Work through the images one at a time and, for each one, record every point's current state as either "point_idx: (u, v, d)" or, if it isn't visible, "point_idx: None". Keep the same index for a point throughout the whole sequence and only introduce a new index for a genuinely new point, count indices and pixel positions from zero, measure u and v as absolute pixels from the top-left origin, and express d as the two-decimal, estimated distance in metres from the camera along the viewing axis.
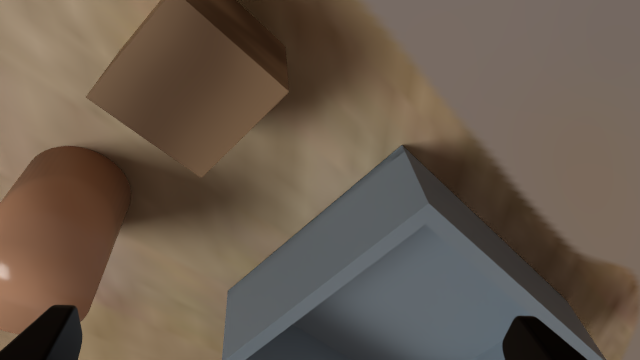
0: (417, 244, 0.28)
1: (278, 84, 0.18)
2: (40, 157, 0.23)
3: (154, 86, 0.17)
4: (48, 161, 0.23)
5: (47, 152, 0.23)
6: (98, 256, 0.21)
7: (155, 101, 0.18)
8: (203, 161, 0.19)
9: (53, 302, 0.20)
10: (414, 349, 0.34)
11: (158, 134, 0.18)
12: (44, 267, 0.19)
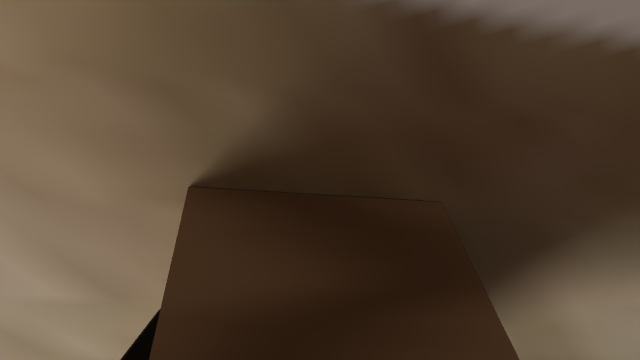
0: None
1: None
2: None
3: None
4: None
5: None
6: None
7: None
8: None
9: None
10: None
11: None
12: None
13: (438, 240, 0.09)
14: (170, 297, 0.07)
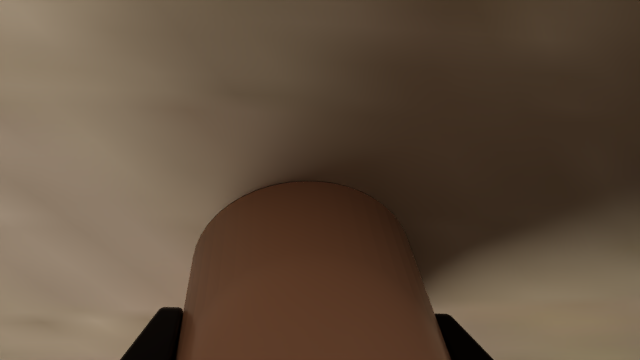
0: None
1: None
2: (197, 255, 0.10)
3: None
4: (211, 257, 0.09)
5: (204, 238, 0.10)
6: None
7: None
8: None
9: None
10: None
11: None
12: None
13: None
14: None
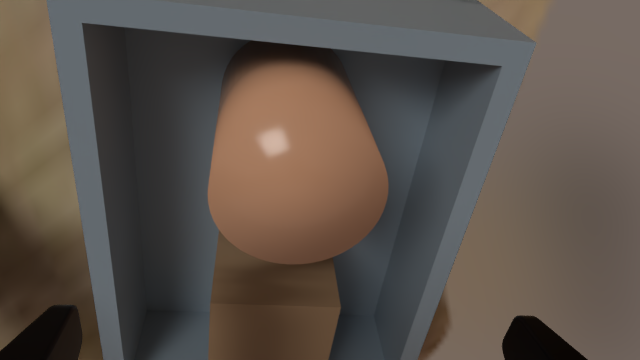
0: None
1: (328, 308, 0.19)
2: (226, 71, 0.18)
3: (244, 356, 0.20)
4: (236, 64, 0.17)
5: (230, 63, 0.18)
6: (357, 114, 0.14)
7: None
8: None
9: (341, 193, 0.14)
10: None
11: None
12: (306, 144, 0.13)
13: None
14: (217, 262, 0.20)
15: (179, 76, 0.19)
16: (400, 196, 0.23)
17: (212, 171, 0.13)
